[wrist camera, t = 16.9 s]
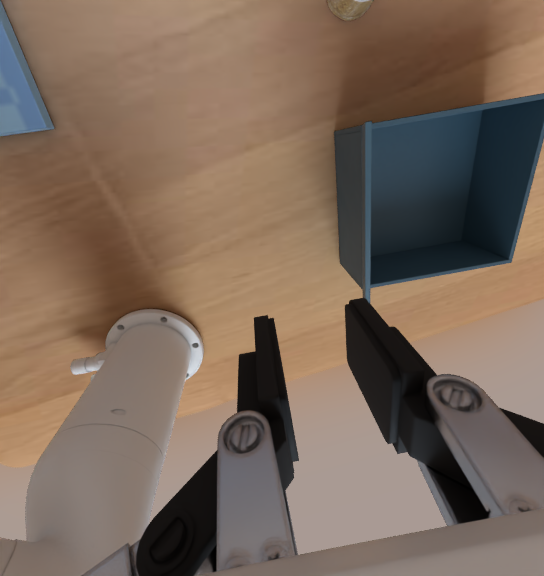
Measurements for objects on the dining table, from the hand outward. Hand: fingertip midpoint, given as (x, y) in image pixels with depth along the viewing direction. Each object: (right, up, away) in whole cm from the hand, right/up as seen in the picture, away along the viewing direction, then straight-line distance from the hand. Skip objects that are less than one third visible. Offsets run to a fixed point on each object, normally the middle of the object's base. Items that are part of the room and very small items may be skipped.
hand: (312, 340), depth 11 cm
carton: (+14, +13, +21) cm, 28 cm away
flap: (+6, +6, +10) cm, 13 cm away
